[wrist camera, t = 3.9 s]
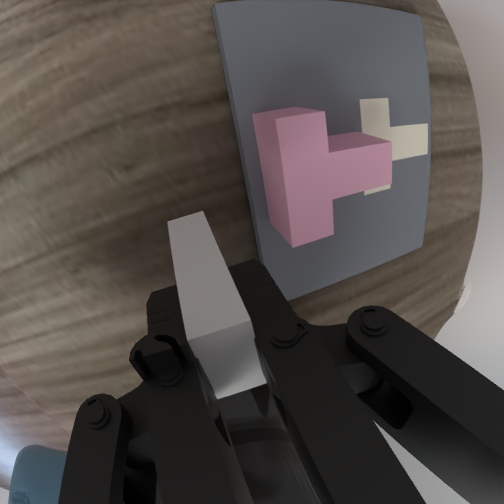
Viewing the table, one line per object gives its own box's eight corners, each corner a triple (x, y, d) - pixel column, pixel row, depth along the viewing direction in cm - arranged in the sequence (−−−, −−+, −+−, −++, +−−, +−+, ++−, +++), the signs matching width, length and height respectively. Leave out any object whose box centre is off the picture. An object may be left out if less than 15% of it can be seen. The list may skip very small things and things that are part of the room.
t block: (270, 222, 22) (292, 247, 19) (252, 114, 18) (275, 118, 15) (359, 196, 24) (390, 215, 20) (354, 100, 19) (390, 105, 16)
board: (266, 298, 27) (271, 306, 26) (211, 8, 15) (214, 3, 14) (415, 241, 30) (422, 246, 30) (411, 16, 18) (420, 15, 17)
